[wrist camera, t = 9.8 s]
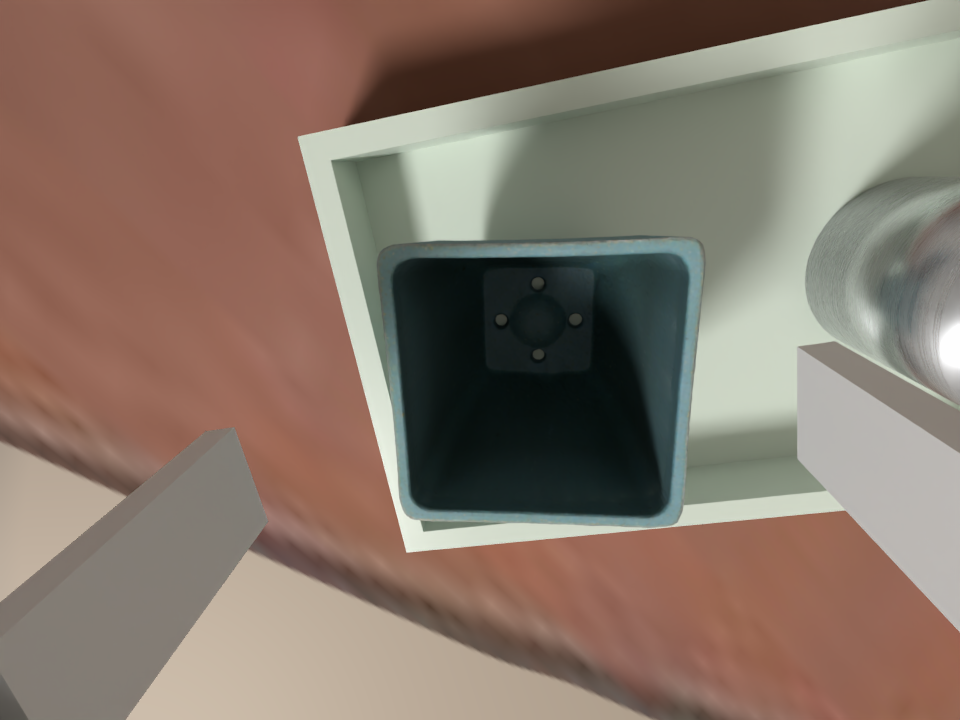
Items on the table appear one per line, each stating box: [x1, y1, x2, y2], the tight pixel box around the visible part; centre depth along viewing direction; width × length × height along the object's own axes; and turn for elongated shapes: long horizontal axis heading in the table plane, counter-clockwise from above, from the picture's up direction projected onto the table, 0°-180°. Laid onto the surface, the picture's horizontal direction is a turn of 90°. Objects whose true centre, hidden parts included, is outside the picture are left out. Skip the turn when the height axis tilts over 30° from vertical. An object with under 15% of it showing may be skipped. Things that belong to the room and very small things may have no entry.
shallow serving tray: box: [298, 0, 960, 552], centre depth 22 cm, size 28×18×4 cm, turn 100°
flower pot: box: [377, 235, 706, 528], centre depth 20 cm, size 9×9×9 cm
